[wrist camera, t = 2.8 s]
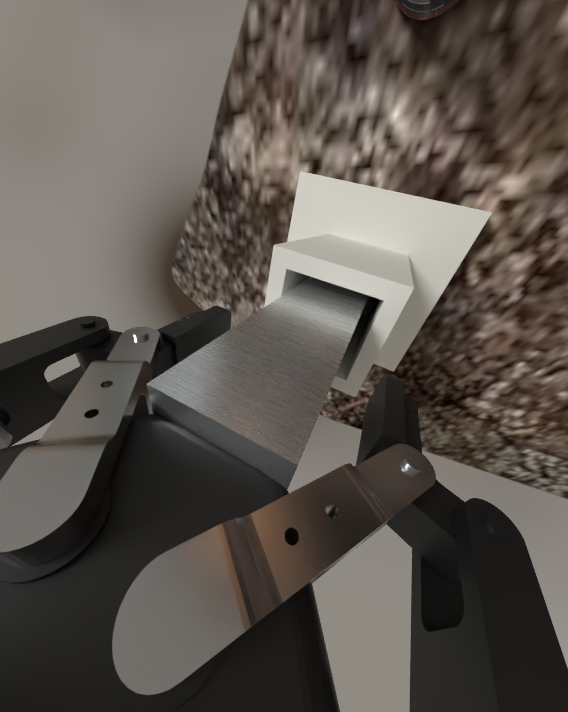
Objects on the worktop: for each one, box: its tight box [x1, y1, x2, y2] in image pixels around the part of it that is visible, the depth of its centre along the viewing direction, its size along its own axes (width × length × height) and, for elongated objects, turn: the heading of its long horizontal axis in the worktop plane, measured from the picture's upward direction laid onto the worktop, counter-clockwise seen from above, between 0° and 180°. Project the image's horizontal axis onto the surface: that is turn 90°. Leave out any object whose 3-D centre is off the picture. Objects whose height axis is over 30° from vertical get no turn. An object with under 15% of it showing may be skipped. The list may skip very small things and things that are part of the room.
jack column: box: [147, 277, 369, 491], centre depth 15 cm, size 4×4×22 cm
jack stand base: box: [264, 171, 492, 397], centre depth 19 cm, size 16×16×15 cm
